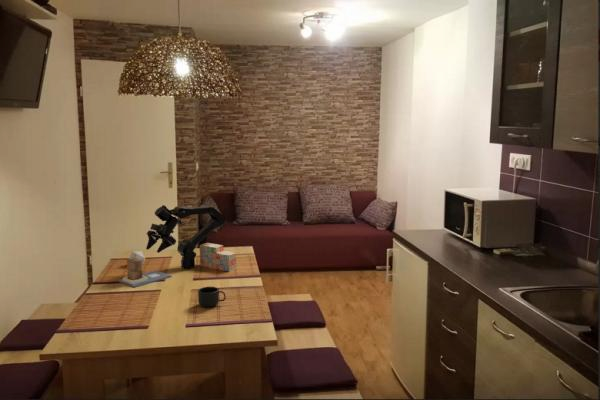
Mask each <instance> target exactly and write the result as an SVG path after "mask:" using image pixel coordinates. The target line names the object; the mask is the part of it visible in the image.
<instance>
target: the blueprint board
mask: <svg viewBox="0 0 600 400" xmlns="http://www.w3.org/2000/svg"><path fill="white" fill-rule="evenodd" d="M170 278H173V276H172V275H171V274H169V273H165V272H161V271H159V270H152V271H148V272H145V273H142V278H141V279H137V280H134V281H132V280H130V279H128V276H125V277H122V279H119V280H118V283H121V284H123V285H126V286H129V287H132V288H138V287H141V286H144V285H148V284H153V283H155V282H159V281H162V280H166V279H170Z"/></svg>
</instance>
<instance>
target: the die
mask: <svg viewBox="0 0 600 400" xmlns="http://www.w3.org/2000/svg"><path fill="white" fill-rule="evenodd" d="M133 258H138V259H141V261H142V265H143V264H144V263H145V260H146V257H145V255H144V253H143V251H141V250H140V251H139V250H137V251H132V252H131V253H130V255H129V258H128V260H129V259H133Z"/></svg>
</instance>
